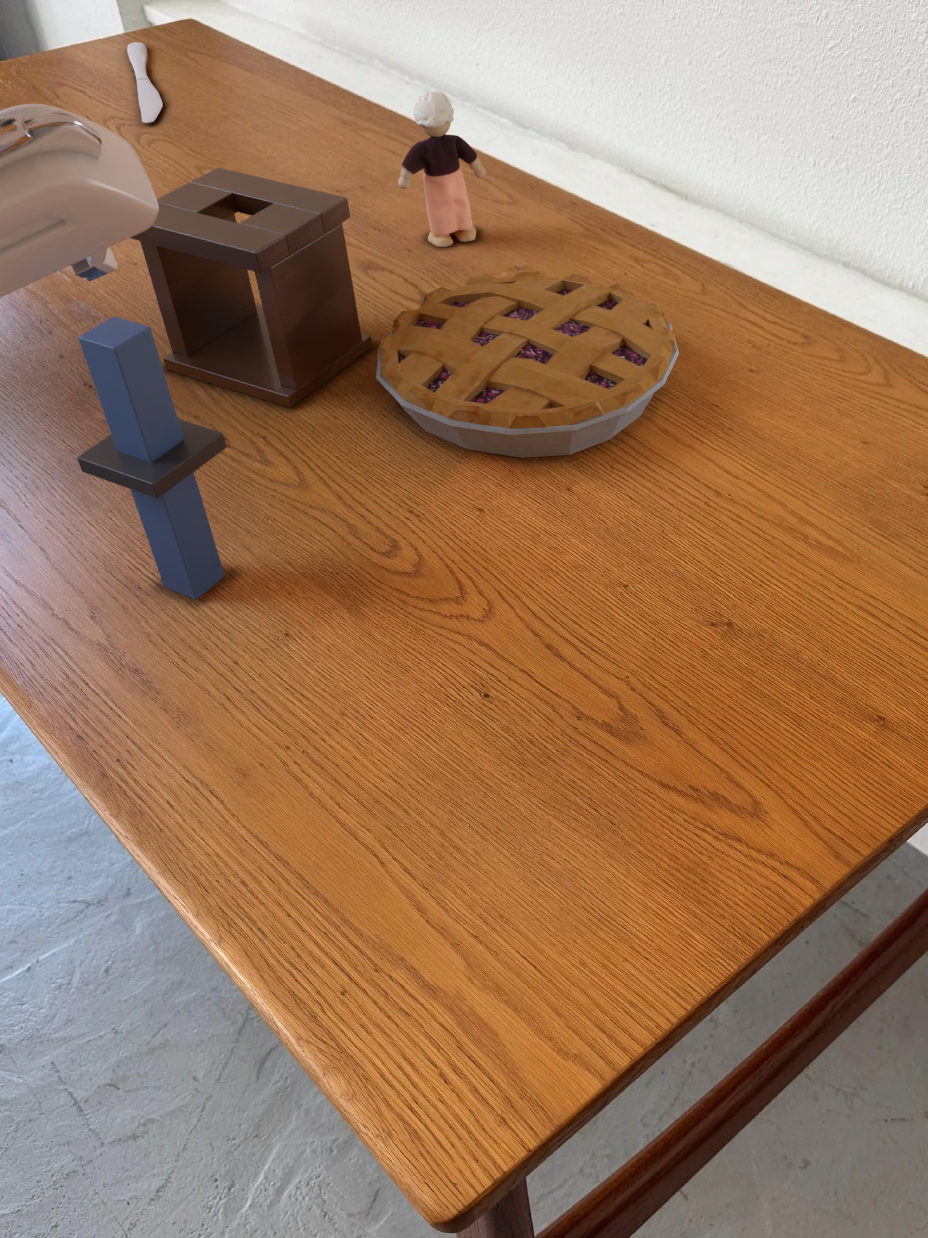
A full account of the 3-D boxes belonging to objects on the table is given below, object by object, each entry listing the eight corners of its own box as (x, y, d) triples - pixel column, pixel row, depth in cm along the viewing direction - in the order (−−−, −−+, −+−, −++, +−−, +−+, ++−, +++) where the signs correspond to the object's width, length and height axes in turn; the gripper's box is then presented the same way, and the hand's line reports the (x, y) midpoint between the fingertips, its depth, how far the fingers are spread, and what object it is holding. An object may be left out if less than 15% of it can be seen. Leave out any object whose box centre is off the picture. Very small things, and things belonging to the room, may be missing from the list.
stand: (290, 408, 91) (255, 252, 82) (166, 369, 95) (120, 217, 86) (372, 347, 97) (347, 197, 89) (252, 313, 101) (218, 166, 93)
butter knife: (152, 39, 150) (125, 40, 149) (165, 120, 131) (135, 122, 130) (153, 44, 150) (127, 45, 149) (166, 126, 132) (136, 128, 131)
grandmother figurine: (473, 220, 114) (459, 76, 105) (495, 235, 112) (482, 89, 103) (399, 242, 111) (378, 95, 102) (420, 258, 108) (400, 109, 100)
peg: (198, 622, 73) (114, 368, 62) (127, 594, 75) (33, 343, 64) (260, 569, 77) (192, 320, 65) (191, 544, 79) (113, 297, 67)
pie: (595, 502, 82) (593, 439, 79) (323, 426, 89) (310, 364, 85) (721, 351, 97) (724, 292, 93) (479, 295, 103) (473, 238, 100)
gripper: (17, 20, 45) (178, 148, 58) (-468, 254, 46) (-199, 325, 60) (90, 184, 45) (233, 272, 59) (-395, 411, 46) (-144, 445, 60)
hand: (12, 300), depth 59 cm, fingers open, 8 cm apart
